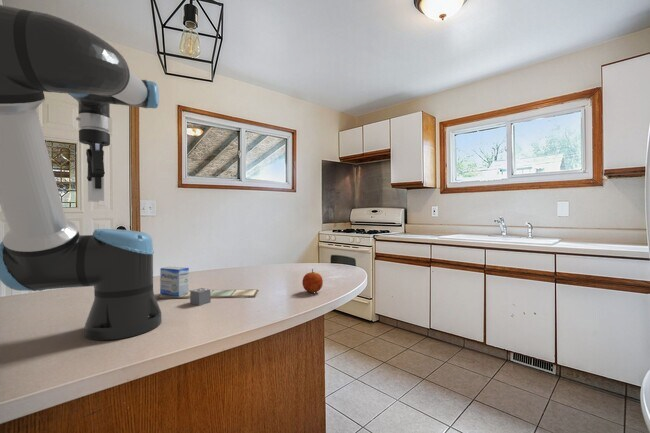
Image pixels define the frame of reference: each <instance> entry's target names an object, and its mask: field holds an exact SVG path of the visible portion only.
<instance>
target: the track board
mask: <svg viewBox="0 0 650 433" xmlns="http://www.w3.org/2000/svg"><path fill="white" fill-rule="evenodd" d="M258 289H259V288H258ZM258 289H257V288H255V289H253V288H252V289H210V298H211V299H228V298H229V299H231V298H233V299H234V298H235V297H244V298H256V296H257V295H258V293H259V291H260V289H259V290H258ZM190 291H192V289H191V290H189V293H187V294H184V295H181V296H172V295H162V294H160V295H158V296H157V297H155V298H156V300H171V299H172V300H173V299H174V300H176V299H177V300H178V299H179V300H180V299H185V300H186V299H190ZM257 292H258V293H257ZM256 294H257V295H256ZM235 299H236V298H235Z"/></svg>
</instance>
